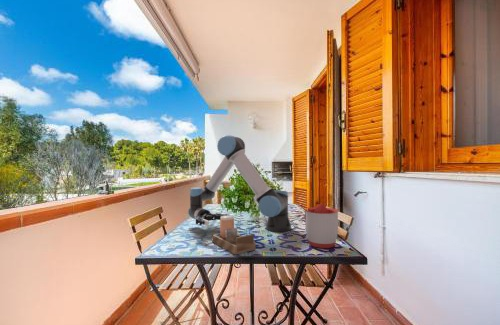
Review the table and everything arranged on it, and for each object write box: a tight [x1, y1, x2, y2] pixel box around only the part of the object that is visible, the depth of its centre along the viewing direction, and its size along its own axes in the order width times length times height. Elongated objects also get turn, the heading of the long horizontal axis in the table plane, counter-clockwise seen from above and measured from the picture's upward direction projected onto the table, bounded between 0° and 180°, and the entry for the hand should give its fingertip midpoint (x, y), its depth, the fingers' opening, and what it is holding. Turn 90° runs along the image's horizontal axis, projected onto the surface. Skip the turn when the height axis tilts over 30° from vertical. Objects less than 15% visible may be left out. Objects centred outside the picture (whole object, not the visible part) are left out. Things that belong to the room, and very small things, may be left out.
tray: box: [211, 233, 257, 255], centre depth 123 cm, size 22×11×7 cm, turn 35°
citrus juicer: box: [301, 203, 339, 249], centre depth 123 cm, size 16×17×20 cm
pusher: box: [225, 226, 238, 243], centre depth 124 cm, size 1×6×7 cm, turn 125°
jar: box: [219, 214, 235, 240], centre depth 127 cm, size 7×7×12 cm
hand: (219, 221), depth 133 cm, fingers open, 13 cm apart
